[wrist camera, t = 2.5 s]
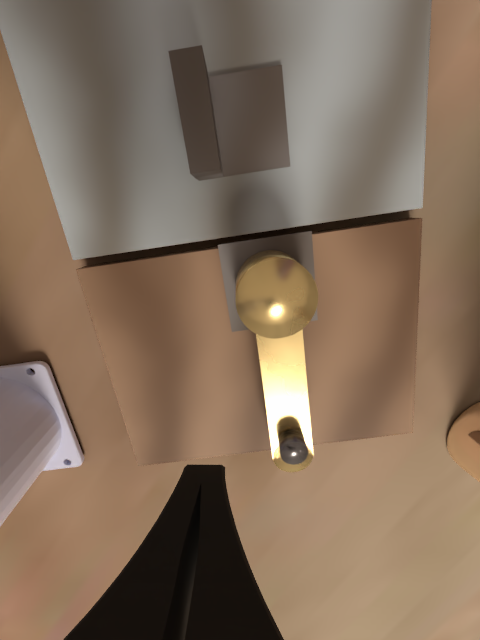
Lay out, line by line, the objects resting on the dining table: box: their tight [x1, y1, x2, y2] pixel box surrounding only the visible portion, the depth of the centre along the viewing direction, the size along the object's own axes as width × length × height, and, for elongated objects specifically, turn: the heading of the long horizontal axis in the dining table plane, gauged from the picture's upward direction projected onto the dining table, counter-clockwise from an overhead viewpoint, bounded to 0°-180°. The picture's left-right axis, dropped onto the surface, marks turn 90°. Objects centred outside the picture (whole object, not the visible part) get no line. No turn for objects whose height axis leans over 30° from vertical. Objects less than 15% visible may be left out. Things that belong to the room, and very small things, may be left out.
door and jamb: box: [0, 0, 432, 466], centre depth 15 cm, size 18×26×4 cm
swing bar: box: [235, 250, 318, 472], centre depth 16 cm, size 12×4×3 cm, turn 8°
